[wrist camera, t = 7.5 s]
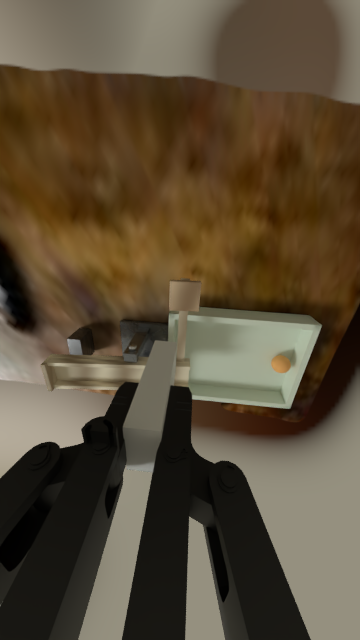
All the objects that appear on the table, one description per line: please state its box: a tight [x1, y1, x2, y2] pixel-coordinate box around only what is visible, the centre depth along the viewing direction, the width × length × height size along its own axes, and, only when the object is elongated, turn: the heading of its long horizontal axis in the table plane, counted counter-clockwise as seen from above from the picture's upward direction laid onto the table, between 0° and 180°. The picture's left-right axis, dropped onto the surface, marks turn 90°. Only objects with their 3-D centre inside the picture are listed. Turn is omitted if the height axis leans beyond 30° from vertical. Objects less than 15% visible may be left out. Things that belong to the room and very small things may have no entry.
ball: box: [271, 355, 291, 373], centre depth 37 cm, size 3×3×3 cm
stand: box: [67, 320, 168, 362], centre depth 36 cm, size 18×10×9 cm, turn 87°
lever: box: [41, 278, 201, 391], centre depth 30 cm, size 22×18×3 cm
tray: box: [168, 307, 322, 409], centre depth 38 cm, size 24×18×4 cm
